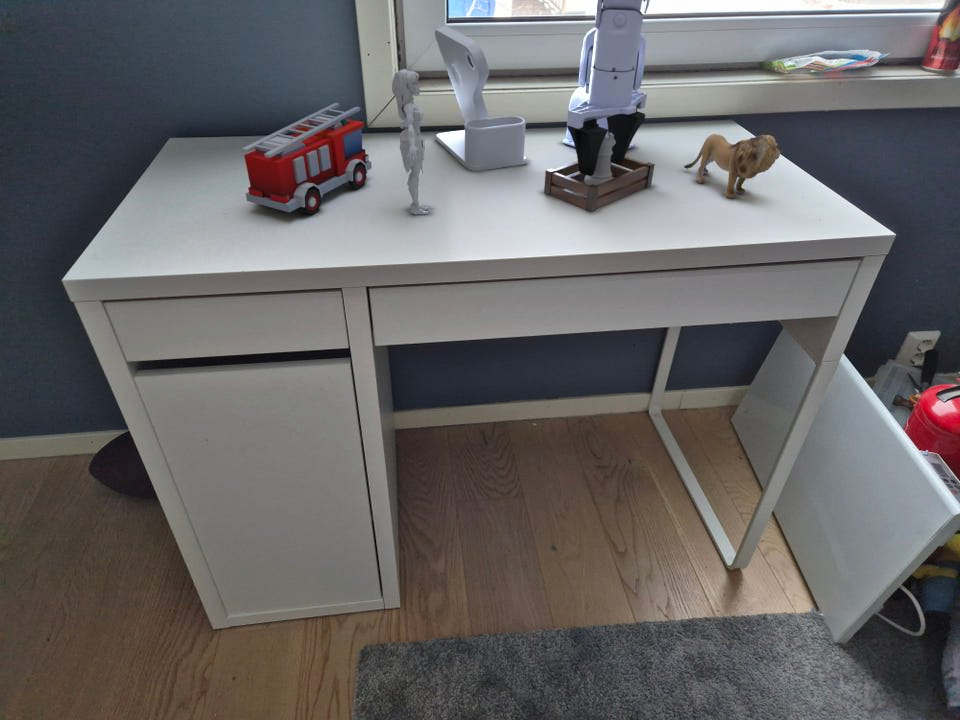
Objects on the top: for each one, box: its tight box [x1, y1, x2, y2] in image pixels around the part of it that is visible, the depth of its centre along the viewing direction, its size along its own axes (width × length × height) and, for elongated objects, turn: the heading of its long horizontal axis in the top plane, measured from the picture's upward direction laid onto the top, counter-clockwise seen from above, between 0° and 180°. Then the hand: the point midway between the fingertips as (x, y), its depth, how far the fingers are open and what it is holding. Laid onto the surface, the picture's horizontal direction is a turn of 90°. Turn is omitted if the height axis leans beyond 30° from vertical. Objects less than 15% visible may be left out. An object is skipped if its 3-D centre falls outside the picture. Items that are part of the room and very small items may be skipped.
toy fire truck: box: [241, 102, 373, 216], centre depth 90 cm, size 9×19×10 cm, turn 152°
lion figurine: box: [683, 133, 782, 199], centre depth 94 cm, size 15×5×9 cm, turn 33°
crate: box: [543, 156, 656, 213], centre depth 94 cm, size 9×14×3 cm, turn 132°
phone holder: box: [434, 25, 527, 172], centre depth 103 cm, size 17×10×18 cm, turn 23°
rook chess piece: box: [583, 133, 616, 185], centre depth 93 cm, size 4×4×8 cm
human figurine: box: [391, 68, 429, 215], centre depth 83 cm, size 12×4×18 cm, turn 10°
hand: (600, 168), depth 93 cm, fingers open, 6 cm apart
